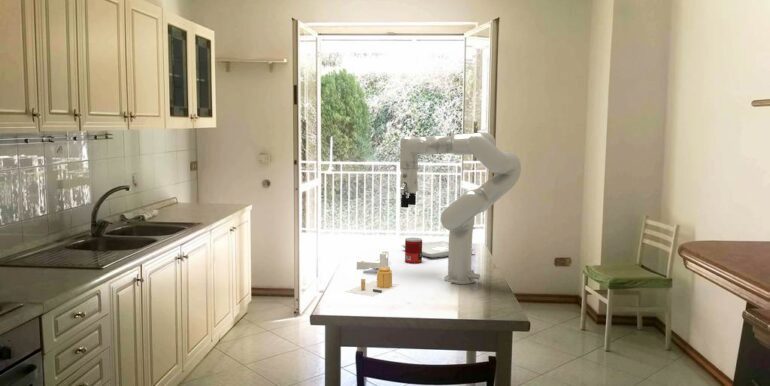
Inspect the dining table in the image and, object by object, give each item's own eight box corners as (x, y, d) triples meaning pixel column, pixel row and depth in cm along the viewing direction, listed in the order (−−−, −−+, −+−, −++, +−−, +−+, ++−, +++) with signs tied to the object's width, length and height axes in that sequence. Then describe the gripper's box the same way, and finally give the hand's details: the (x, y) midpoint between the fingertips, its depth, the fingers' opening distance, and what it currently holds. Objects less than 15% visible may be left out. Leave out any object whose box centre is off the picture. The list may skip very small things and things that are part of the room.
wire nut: (394, 285, 239) (394, 267, 239) (386, 288, 235) (387, 270, 234) (381, 283, 242) (381, 266, 241) (374, 286, 237) (374, 268, 237)
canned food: (422, 263, 285) (422, 240, 284) (405, 263, 286) (405, 240, 284) (421, 260, 293) (421, 237, 292) (404, 260, 293) (405, 237, 292)
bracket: (388, 267, 279) (388, 251, 278) (385, 271, 272) (385, 254, 271) (360, 266, 281) (360, 249, 280) (356, 269, 274) (356, 252, 273)
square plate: (475, 255, 307) (475, 248, 306) (429, 261, 293) (429, 253, 293) (443, 246, 330) (444, 239, 330) (400, 251, 317) (400, 243, 316)
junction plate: (399, 288, 241) (399, 274, 240) (372, 300, 224) (373, 285, 223) (373, 284, 247) (373, 270, 246) (345, 295, 230) (345, 281, 229)
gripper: (410, 167, 251) (410, 208, 253) (423, 165, 267) (422, 204, 269) (393, 166, 254) (393, 207, 256) (407, 164, 270) (406, 203, 272)
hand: (408, 206), depth 262 cm, fingers open, 9 cm apart
